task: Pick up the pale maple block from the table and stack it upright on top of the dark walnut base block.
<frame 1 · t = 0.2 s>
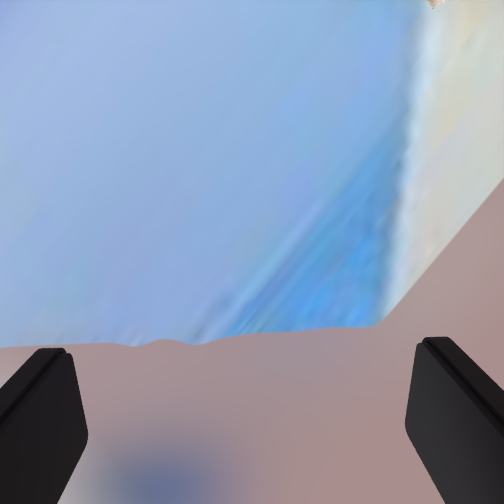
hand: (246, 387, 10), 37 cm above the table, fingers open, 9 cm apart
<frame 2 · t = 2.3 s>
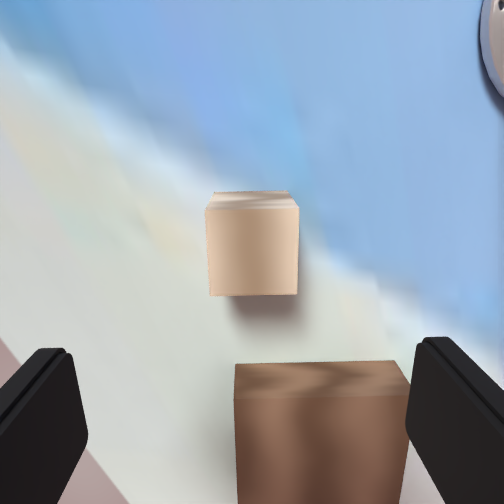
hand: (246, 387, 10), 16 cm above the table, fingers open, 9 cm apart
maple block: (251, 226, 25), on the table
walnut base: (311, 425, 31), on the table
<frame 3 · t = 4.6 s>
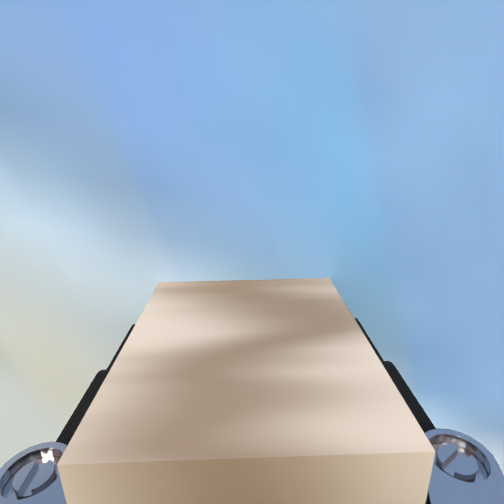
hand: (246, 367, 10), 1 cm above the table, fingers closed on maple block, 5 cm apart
maple block: (246, 353, 11), on the table, touching gripper
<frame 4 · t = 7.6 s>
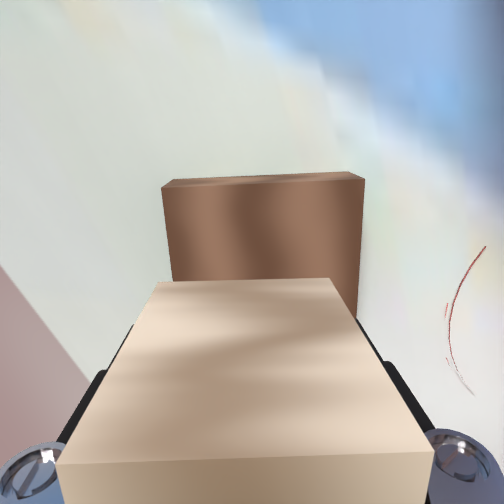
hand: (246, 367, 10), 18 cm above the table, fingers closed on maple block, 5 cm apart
maple block: (246, 353, 11), point 17 cm above the table, touching gripper
walnut base: (263, 257, 28), on the table
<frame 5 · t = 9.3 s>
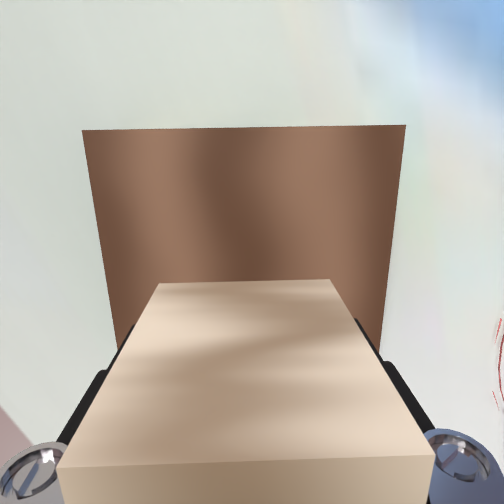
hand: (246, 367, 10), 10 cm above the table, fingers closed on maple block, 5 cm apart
maple block: (246, 354, 11), point 10 cm above the table, touching gripper
walnut base: (247, 249, 20), on the table
when the fingers open (6 cm above the table, at t = 10.9 s): maple block drops 1 cm, resting on walnut base.
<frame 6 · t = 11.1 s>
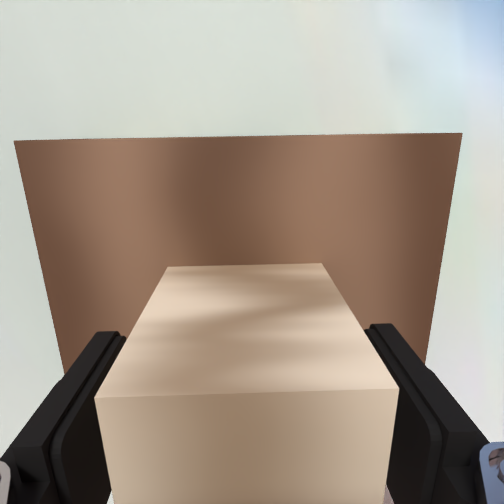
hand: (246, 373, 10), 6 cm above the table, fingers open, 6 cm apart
maple block: (246, 332, 12), point 4 cm above the table, touching walnut base
walnut base: (244, 286, 16), on the table
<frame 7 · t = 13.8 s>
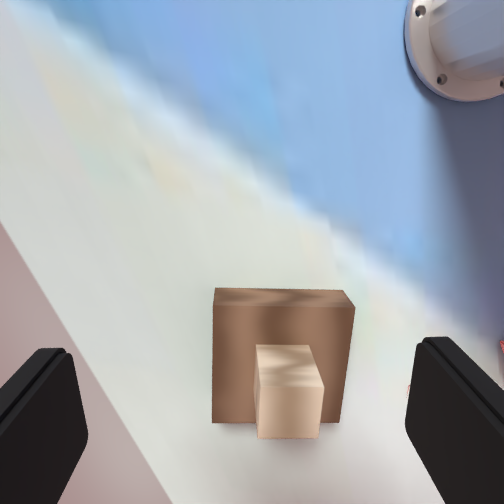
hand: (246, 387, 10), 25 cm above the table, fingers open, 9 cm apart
maple block: (280, 367, 34), point 4 cm above the table, touching walnut base
walnut base: (275, 345, 38), on the table
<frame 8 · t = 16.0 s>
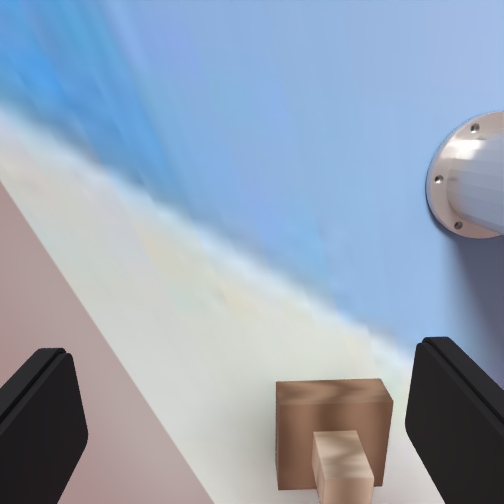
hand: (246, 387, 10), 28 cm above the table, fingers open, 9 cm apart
maple block: (333, 447, 42), point 4 cm above the table, touching walnut base
walnut base: (325, 422, 46), on the table
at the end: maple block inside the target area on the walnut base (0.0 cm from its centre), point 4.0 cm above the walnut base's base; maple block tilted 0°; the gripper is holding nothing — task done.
